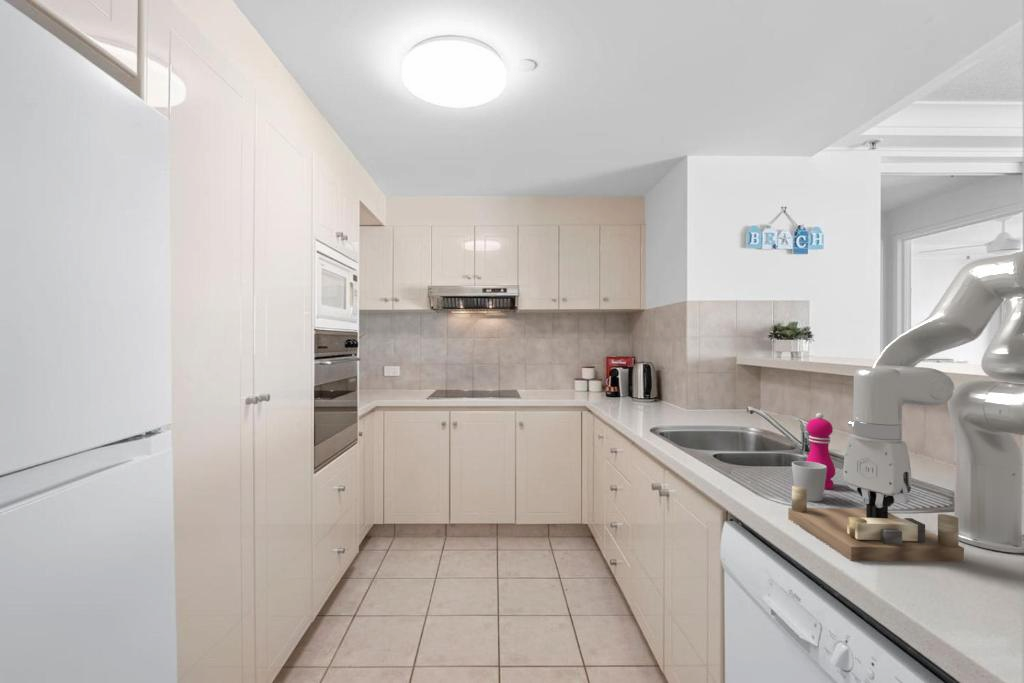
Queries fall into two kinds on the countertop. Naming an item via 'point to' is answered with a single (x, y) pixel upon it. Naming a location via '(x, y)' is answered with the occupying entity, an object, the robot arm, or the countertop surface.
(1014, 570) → the countertop surface
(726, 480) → the countertop surface
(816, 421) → the pepper mill
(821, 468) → the cup
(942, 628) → the countertop surface
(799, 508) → the stool seat
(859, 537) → the folding leg
